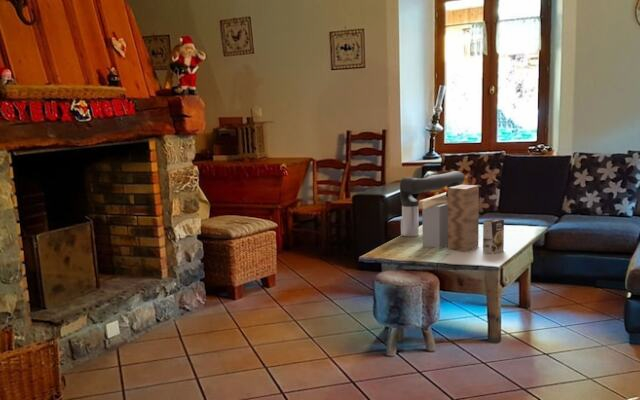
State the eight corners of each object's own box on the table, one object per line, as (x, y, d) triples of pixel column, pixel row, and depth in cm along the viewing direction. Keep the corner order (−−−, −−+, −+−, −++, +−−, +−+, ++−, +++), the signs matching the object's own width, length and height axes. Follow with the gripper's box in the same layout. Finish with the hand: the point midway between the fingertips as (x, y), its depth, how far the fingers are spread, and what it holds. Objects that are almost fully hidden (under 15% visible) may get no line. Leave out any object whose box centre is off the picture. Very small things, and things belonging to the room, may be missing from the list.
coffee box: (493, 254, 302) (493, 222, 300) (482, 252, 307) (482, 220, 305) (504, 251, 308) (504, 219, 305) (493, 249, 313) (493, 217, 310)
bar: (419, 208, 312) (418, 200, 312) (445, 199, 333) (445, 192, 332) (424, 209, 310) (424, 201, 309) (451, 199, 331) (451, 192, 330)
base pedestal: (422, 246, 324) (422, 205, 321) (432, 242, 332) (431, 202, 329) (439, 248, 318) (439, 206, 315) (448, 244, 326) (448, 203, 322)
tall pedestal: (448, 249, 315) (447, 187, 310) (460, 244, 325) (460, 184, 320) (465, 252, 308) (465, 189, 304) (478, 246, 319) (478, 185, 314)
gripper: (446, 197, 345) (433, 186, 333) (470, 199, 336) (457, 187, 324) (443, 210, 343) (430, 198, 331) (466, 212, 334) (453, 200, 322)
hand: (443, 193), depth 327 cm, fingers open, 3 cm apart
